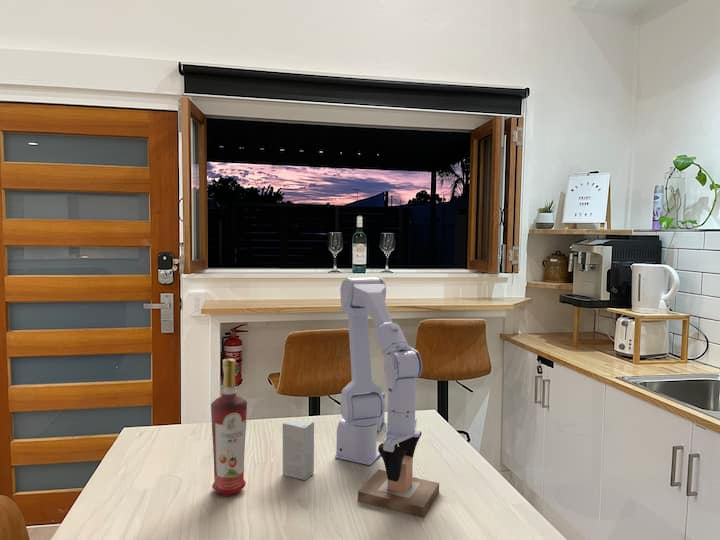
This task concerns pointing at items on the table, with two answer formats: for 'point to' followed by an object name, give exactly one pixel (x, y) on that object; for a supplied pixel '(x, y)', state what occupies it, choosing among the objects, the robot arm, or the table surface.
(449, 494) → the table surface
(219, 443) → the liquor
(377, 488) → the base board
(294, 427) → the skincare box
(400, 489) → the terracotta block
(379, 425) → the medicine box
